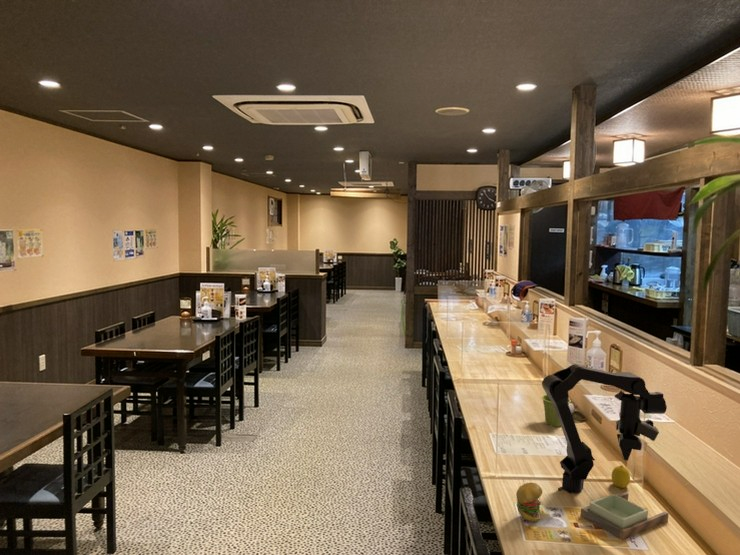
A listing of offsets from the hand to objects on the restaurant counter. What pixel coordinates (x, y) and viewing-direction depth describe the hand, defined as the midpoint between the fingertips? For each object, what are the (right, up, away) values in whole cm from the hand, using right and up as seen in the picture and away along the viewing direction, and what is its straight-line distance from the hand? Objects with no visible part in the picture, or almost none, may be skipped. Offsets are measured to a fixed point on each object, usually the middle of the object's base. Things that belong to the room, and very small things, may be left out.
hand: (625, 459), depth 181 cm
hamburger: (-36, -12, -17) cm, 42 cm away
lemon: (-1, -11, +3) cm, 11 cm away
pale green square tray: (-11, -12, -19) cm, 25 cm away
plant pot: (-3, -5, +61) cm, 61 cm away
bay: (-9, -13, -17) cm, 23 cm away
